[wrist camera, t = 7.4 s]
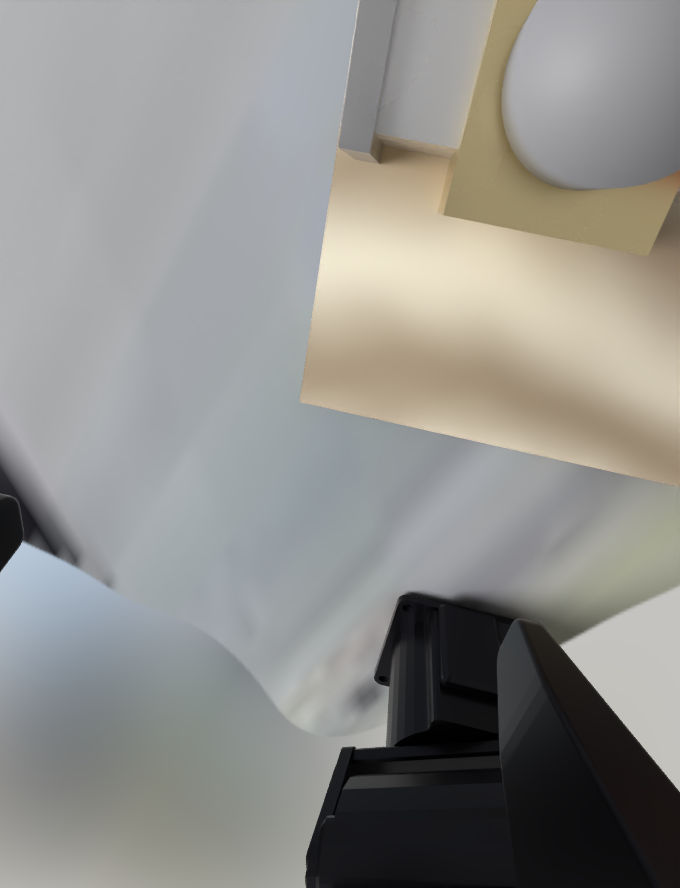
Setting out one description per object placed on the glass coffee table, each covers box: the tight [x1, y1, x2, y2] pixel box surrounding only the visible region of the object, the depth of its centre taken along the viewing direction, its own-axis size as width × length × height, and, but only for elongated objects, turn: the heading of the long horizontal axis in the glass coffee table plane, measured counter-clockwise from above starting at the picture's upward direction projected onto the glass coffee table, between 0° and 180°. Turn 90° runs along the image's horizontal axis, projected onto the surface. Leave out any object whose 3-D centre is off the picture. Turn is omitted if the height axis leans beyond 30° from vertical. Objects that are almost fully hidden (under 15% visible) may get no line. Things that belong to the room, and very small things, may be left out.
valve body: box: [338, 0, 680, 256], centre depth 12 cm, size 6×14×4 cm, turn 78°
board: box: [300, 3, 680, 487], centre depth 15 cm, size 16×15×1 cm
